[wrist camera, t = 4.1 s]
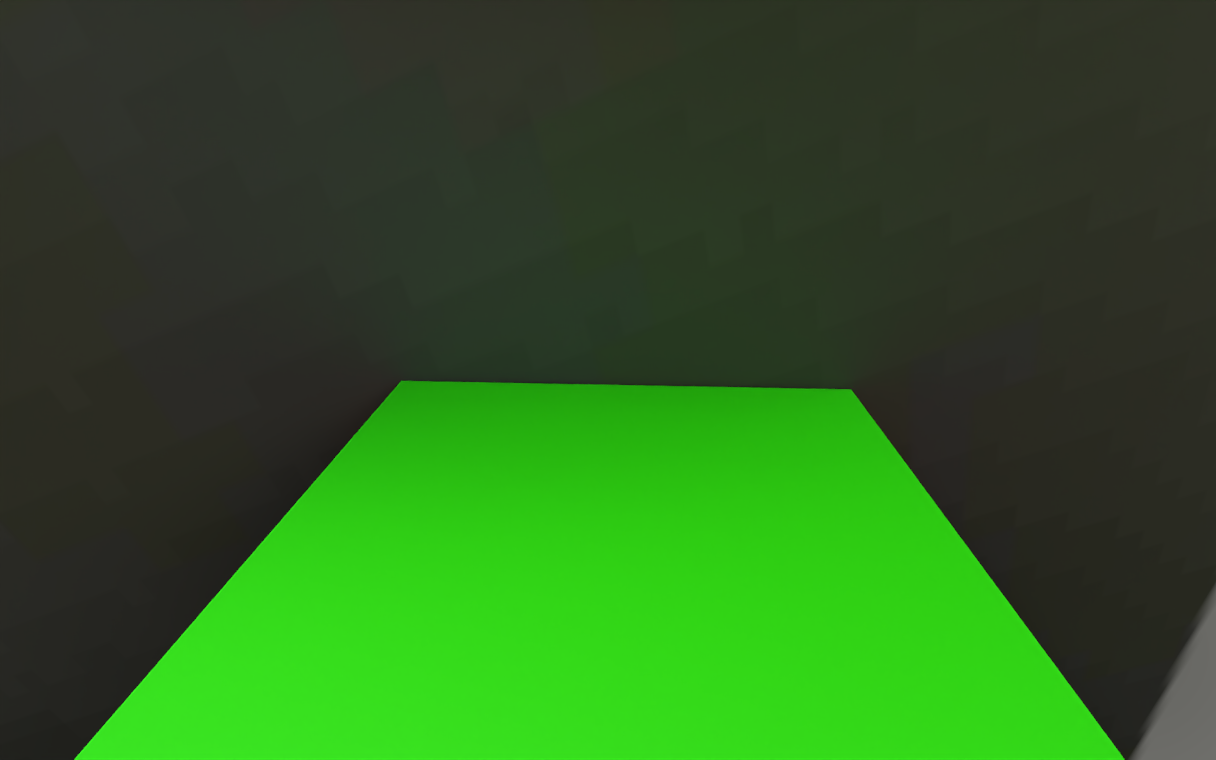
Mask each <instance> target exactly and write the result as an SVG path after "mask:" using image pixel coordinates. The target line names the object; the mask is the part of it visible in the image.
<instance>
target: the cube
mask: <svg viewBox="0 0 1216 760" xmlns="http://www.w3.org/2000/svg"><path fill="white" fill-rule="evenodd" d="M74 760H1125V759H1124V758H1123V757H1122V755H1121V754H1120V752H1119V751H1118V750H1117V748H1116V747H1115V746H1114V744H1113V743H1112V742H1111V740H1110V739H1109V738H1108V736H1107V735H1106V734H1105V732H1104V731H1103V729H1102V728H1101V727H1100V725H1099V724H1098V723H1097V721H1096V720H1095V719H1094V717H1093V716H1092V715H1091V713H1090V712H1089V711H1088V709H1087V708H1086V706H1085V705H1084V704H1083V702H1082V701H1081V700H1080V698H1079V697H1078V696H1077V694H1076V693H1075V692H1074V690H1073V689H1072V688H1071V686H1070V685H1069V683H1068V682H1067V681H1066V679H1065V678H1064V677H1063V675H1062V674H1061V673H1060V671H1059V670H1058V669H1057V667H1056V666H1055V665H1054V663H1053V662H1052V660H1051V659H1050V658H1049V656H1048V655H1047V654H1046V652H1045V651H1044V650H1043V648H1042V647H1041V646H1040V644H1039V643H1038V642H1037V640H1036V639H1035V637H1034V636H1033V635H1032V633H1031V632H1030V631H1029V629H1028V628H1027V627H1026V625H1025V624H1024V623H1023V621H1022V620H1021V619H1020V617H1019V616H1018V614H1017V613H1016V612H1015V610H1014V609H1013V608H1012V606H1011V605H1010V604H1009V602H1008V601H1007V600H1006V598H1005V597H1004V596H1003V594H1002V593H1001V591H1000V590H999V589H998V587H997V586H996V585H995V583H994V582H993V581H992V579H991V578H990V577H989V575H988V574H987V573H986V571H985V570H984V568H983V567H982V566H981V564H980V563H979V562H978V560H977V559H976V558H975V556H974V555H973V554H972V552H971V551H970V550H969V548H968V547H967V545H966V544H965V543H964V541H963V540H962V539H961V537H960V536H959V535H958V533H957V532H956V531H955V529H954V528H953V527H952V525H951V524H950V522H949V521H948V520H947V518H946V517H945V516H944V514H943V513H942V512H941V510H940V509H939V508H938V506H937V505H936V504H935V502H934V501H933V499H932V498H931V497H930V495H929V494H928V493H927V491H926V490H925V489H924V487H923V486H922V485H921V483H920V482H919V481H918V479H917V478H916V476H915V475H914V474H913V472H912V471H911V470H910V468H909V467H908V466H907V464H906V463H905V462H904V460H903V459H902V458H901V456H900V455H899V453H898V452H897V451H896V449H895V448H894V447H893V445H892V444H891V443H890V441H889V440H888V439H887V437H886V436H885V435H884V433H883V432H882V430H881V429H880V428H879V426H878V425H877V424H876V422H875V421H874V420H873V418H872V417H871V416H870V414H869V413H868V412H867V410H866V409H865V408H864V406H863V405H862V403H861V402H860V401H859V399H858V398H857V397H856V395H855V394H854V393H853V391H852V390H851V389H801V388H749V387H697V386H644V385H592V384H540V383H488V382H435V381H401V382H400V383H399V384H398V385H397V386H396V388H395V389H394V390H393V391H392V392H391V393H390V395H389V396H388V397H387V398H386V399H385V400H384V402H383V403H382V404H381V405H380V406H379V407H378V408H377V410H376V411H375V412H374V413H373V414H372V415H371V417H370V418H369V419H368V420H367V421H366V422H365V424H364V425H363V426H362V427H361V428H360V429H359V430H358V432H357V433H356V434H355V435H354V436H353V437H352V439H351V440H350V441H349V442H348V443H347V444H346V446H345V447H344V448H343V449H342V450H341V451H340V452H339V454H338V455H337V456H336V457H335V458H334V459H333V461H332V462H331V463H330V464H329V465H328V466H327V468H326V469H325V470H324V471H323V472H322V473H321V474H320V476H319V477H318V478H317V479H316V480H315V481H314V483H313V484H312V485H311V486H310V487H309V488H308V490H307V491H306V492H305V493H304V494H303V495H302V496H301V498H300V499H299V500H298V501H297V502H296V503H295V505H294V506H293V507H292V508H291V509H290V510H289V512H288V513H287V514H286V515H285V516H284V517H283V518H282V520H281V521H280V522H279V523H278V524H277V525H276V527H275V528H274V529H273V530H272V531H271V532H270V534H269V535H268V536H267V537H266V538H265V539H264V540H263V542H262V543H261V544H260V545H259V546H258V547H257V549H256V550H255V551H254V552H253V553H252V554H251V555H250V557H249V558H248V559H247V560H246V561H245V562H244V564H243V565H242V566H241V567H240V568H239V569H238V571H237V572H236V573H235V574H234V575H233V576H232V577H231V579H230V580H229V581H228V582H227V583H226V584H225V586H224V587H223V588H222V589H221V590H220V591H219V593H218V594H217V595H216V596H215V597H214V598H213V599H212V601H211V602H210V603H209V604H208V605H207V606H206V608H205V609H204V610H203V611H202V612H201V613H200V615H199V616H198V617H197V618H196V619H195V620H194V621H193V623H192V624H191V625H190V626H189V627H188V628H187V630H186V631H185V632H184V633H183V634H182V635H181V637H180V638H179V639H178V640H177V641H176V642H175V643H174V645H173V646H172V647H171V648H170V649H169V650H168V652H167V653H166V654H165V655H164V656H163V657H162V659H161V660H160V661H159V662H158V663H157V664H156V665H155V667H154V668H153V669H152V670H151V671H150V672H149V674H148V675H147V676H146V677H145V678H144V679H143V681H142V682H141V683H140V684H139V685H138V686H137V687H136V689H135V690H134V691H133V692H132V693H131V694H130V696H129V697H128V698H127V699H126V700H125V701H124V703H123V704H122V705H121V706H120V707H119V708H118V709H117V711H116V712H115V713H114V714H113V715H112V716H111V718H110V719H109V720H108V721H107V722H106V723H105V725H104V726H103V727H102V728H101V729H100V730H99V731H98V733H97V734H96V735H95V736H94V737H93V738H92V740H91V741H90V742H89V743H88V744H87V745H86V747H85V748H84V749H83V750H82V751H81V752H80V753H79V755H78V756H77V757H76V758H75V759H74Z"/></svg>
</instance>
